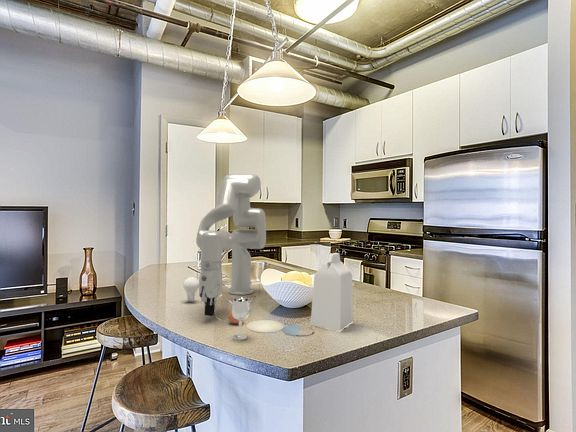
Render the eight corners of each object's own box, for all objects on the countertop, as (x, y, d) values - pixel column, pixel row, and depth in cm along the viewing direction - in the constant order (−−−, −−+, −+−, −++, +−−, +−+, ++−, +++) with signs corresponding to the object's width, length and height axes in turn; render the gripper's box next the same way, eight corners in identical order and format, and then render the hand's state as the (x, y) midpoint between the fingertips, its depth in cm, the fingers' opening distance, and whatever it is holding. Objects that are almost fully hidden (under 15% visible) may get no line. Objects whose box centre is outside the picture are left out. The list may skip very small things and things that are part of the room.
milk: (340, 332, 117) (342, 256, 117) (310, 325, 123) (312, 253, 123) (352, 323, 127) (355, 253, 127) (325, 317, 133) (327, 251, 133)
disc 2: (287, 323, 124) (287, 323, 124) (317, 327, 121) (317, 327, 121) (278, 333, 114) (278, 333, 114) (310, 338, 111) (310, 337, 111)
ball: (246, 322, 125) (232, 321, 126) (246, 306, 125) (232, 305, 127) (239, 325, 119) (225, 324, 121) (240, 309, 120) (225, 308, 121)
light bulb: (194, 304, 145) (195, 278, 145) (180, 303, 147) (180, 277, 147) (201, 301, 152) (202, 276, 152) (187, 299, 153) (188, 275, 153)
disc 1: (254, 318, 129) (254, 318, 129) (288, 323, 125) (288, 322, 125) (240, 329, 116) (240, 329, 116) (277, 334, 113) (277, 334, 113)
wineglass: (231, 334, 112) (232, 297, 112) (249, 334, 112) (250, 297, 112) (229, 340, 106) (231, 302, 106) (248, 340, 107) (249, 302, 107)
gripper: (210, 269, 118) (208, 322, 119) (229, 263, 133) (227, 310, 133) (191, 267, 120) (189, 319, 121) (211, 262, 135) (210, 308, 135)
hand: (209, 315), depth 127 cm, fingers closed
